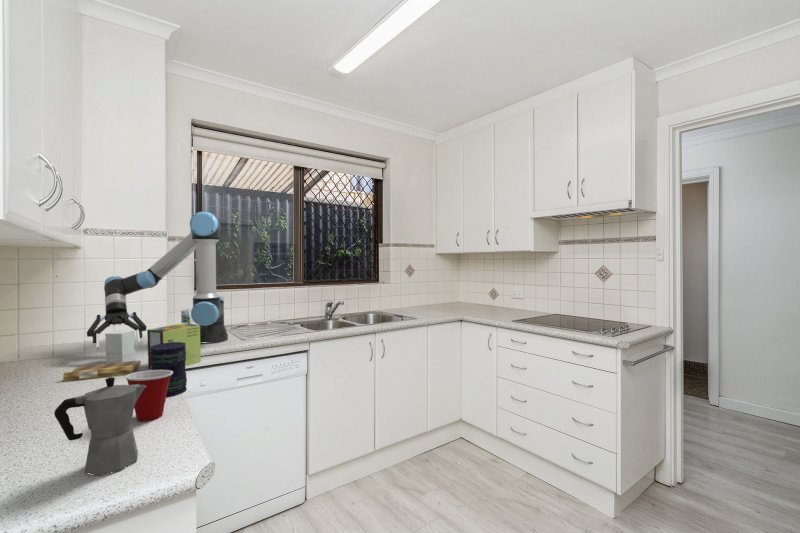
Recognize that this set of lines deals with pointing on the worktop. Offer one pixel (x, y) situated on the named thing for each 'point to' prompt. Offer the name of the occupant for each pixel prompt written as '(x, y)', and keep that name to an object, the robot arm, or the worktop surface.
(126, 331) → the supplement box
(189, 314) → the syrup box
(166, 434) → the worktop surface
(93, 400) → the coffeepot
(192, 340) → the protein box
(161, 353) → the storage jar
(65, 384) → the worktop surface
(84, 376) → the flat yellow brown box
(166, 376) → the plastic cup
